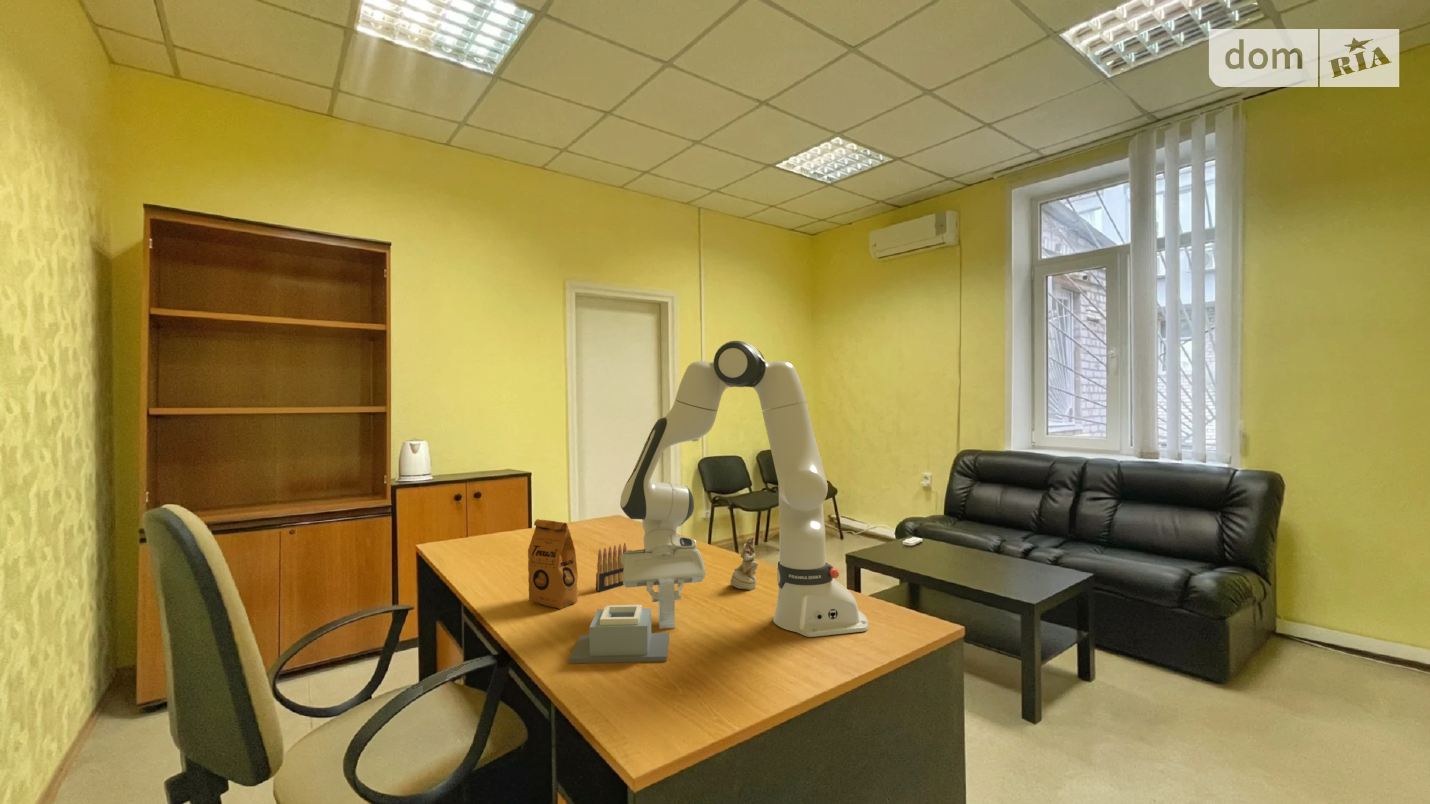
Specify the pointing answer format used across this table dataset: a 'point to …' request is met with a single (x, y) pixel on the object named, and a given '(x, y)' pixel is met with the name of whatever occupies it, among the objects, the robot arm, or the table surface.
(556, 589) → the coffee package
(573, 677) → the table surface
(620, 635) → the block
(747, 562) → the figurine
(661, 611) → the shaft
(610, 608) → the frame
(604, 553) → the ammunition clip
